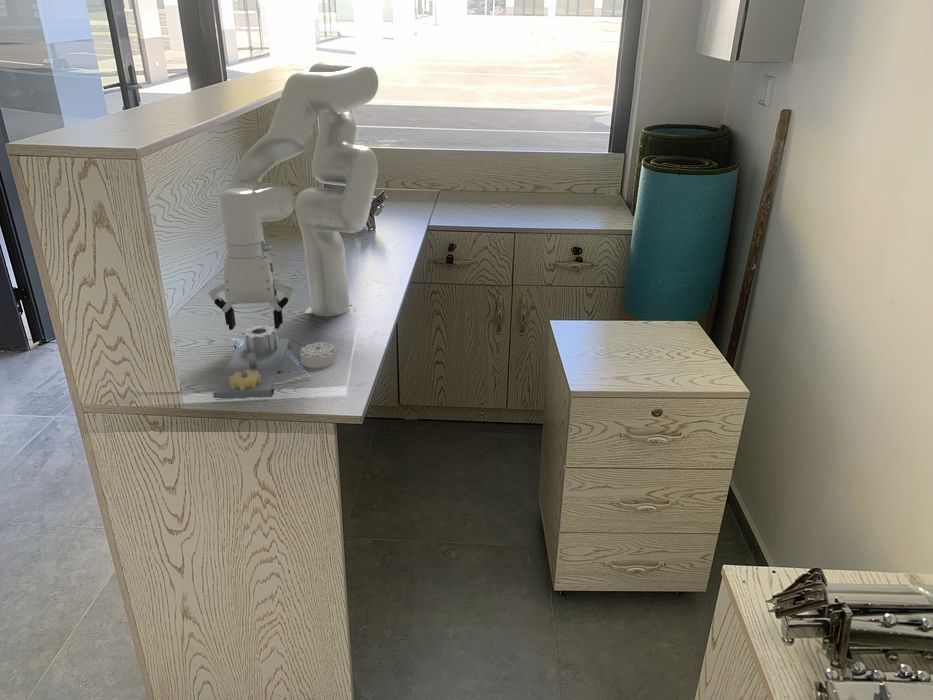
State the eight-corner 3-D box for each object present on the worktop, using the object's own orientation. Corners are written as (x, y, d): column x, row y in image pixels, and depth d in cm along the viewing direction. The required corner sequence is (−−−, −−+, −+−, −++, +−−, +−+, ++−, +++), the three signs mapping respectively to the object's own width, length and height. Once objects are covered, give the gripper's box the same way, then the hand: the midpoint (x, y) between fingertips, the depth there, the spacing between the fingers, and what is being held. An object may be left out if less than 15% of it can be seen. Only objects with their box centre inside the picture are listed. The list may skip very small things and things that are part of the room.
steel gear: (248, 342, 156) (245, 325, 154) (280, 340, 156) (277, 324, 155) (242, 355, 150) (239, 338, 148) (275, 353, 150) (272, 336, 148)
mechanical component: (340, 376, 144) (346, 356, 153) (338, 357, 142) (344, 338, 151) (292, 378, 143) (300, 357, 152) (289, 359, 141) (298, 339, 151)
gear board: (241, 346, 157) (238, 328, 155) (290, 344, 158) (288, 326, 156) (214, 399, 135) (210, 378, 133) (271, 396, 135) (268, 376, 134)
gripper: (291, 244, 148) (298, 320, 154) (207, 246, 146) (218, 322, 153) (285, 253, 141) (293, 332, 147) (198, 255, 139) (209, 334, 146)
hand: (255, 327), depth 150 cm, fingers open, 9 cm apart
